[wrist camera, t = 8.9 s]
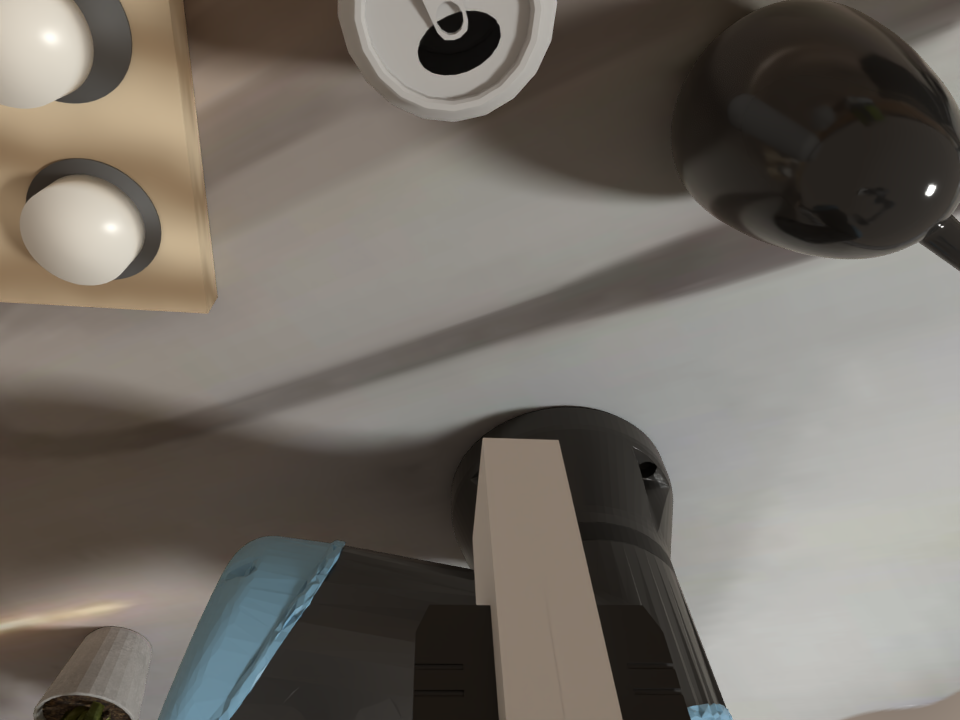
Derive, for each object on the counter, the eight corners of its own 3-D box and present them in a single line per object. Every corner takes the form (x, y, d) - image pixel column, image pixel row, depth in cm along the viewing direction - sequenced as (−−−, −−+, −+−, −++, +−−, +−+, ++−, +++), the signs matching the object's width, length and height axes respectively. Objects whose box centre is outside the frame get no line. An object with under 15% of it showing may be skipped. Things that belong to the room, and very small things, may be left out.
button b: (104, 102, 31) (84, 113, 29) (-18, 92, 30) (-46, 103, 29) (80, -28, 28) (57, -25, 26) (-54, -41, 28) (-86, -39, 26)
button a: (152, 271, 37) (138, 288, 35) (52, 265, 37) (33, 282, 35) (136, 178, 35) (120, 191, 33) (29, 170, 34) (7, 183, 32)
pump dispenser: (745, 234, 40) (890, 384, 27) (610, 125, 37) (704, 239, 24) (893, 80, 36) (1146, 171, 23) (757, -59, 32) (968, -43, 20)
